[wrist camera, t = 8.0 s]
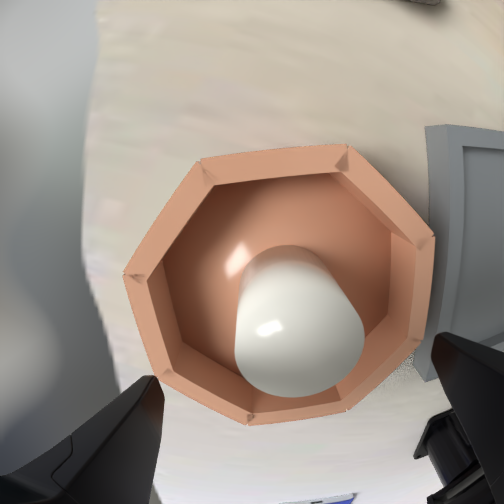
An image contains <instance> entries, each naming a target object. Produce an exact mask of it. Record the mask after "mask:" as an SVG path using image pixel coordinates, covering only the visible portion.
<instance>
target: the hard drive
mask: <svg viewBox="0 0 504 504" xmlns="http://www.w3.org/2000/svg"><path fill="white" fill-rule="evenodd" d="M353 499H354V497H353V493H352V494H347V495H341V496H335V497H329V498H323V499H315V500H307V501H298V502H286V503H278V504H351V502H352V501H353Z"/></svg>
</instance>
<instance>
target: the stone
mask: <svg viewBox="0 0 504 504" xmlns="http://www.w3.org/2000/svg"><path fill="white" fill-rule="evenodd" d="M410 1H413V2H422V3H425V4H429V5H436V4H438V3H439V2H440V0H410Z"/></svg>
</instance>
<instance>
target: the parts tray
mask: <svg viewBox="0 0 504 504" xmlns="http://www.w3.org/2000/svg"><path fill="white" fill-rule="evenodd" d="M425 133H426V143H427V156H428V173H429V228H430V229H431V230H432V231H433V233H434V234H433V236H435V250H434V263H433V275H432V284H431V293H430V301H429V308H428V314H427V321H426V327H425V332H424V338H423V340H420V341H421V342H422V343H421V344H420V345H419V346H418V347H417V348H416V350H415V355H414V360H413V366H414V367H415V369H416V370H417V372H418V373H419V374H420V376H421V377H422V379H423V380H424V382H427V381H430V380H433V379H436V378H439V377H438V375H437V372H436V370H435V368H434V366H433V363H432V361H431V350H432V346H433V341H434V337H435V335H436V334H438V333H441V332H445V331H446V332H449V333H452V334H455V335H458V336H460V337H463V338H466V339H469V340H471V341H474V342H477V343H480V344H482V345H485V346H488V347H491V348H493V349H496V350H499V351H504V132H502V131H496V130H489V129H482V128H475V127H466V126H457V125H447V124H445V125H435V126H425Z"/></svg>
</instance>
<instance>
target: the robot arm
mask: <svg viewBox="0 0 504 504" xmlns="http://www.w3.org/2000/svg"><path fill="white" fill-rule="evenodd" d="M431 361H432V363H433V366H434V368H435V370H436V372H437V375H438V377H439V380H440V382H441V384H442V387H443V389H444V391H445V394H446V396H447V398H448V400H449V402H450V404H451V405H452V407H453V410H451V411H448V412H446V413H444V414H441V415H438V416H436V417H433V418H432V419H430V420H429V421H428V423H427V426H426V428H425V430H424V433H423V435H422V437H421V440H420V442H419V444H418V446H417V449H416V451H415V453H414V455H413V457H414V459H419V458H422V457H424V456H427V455H428V456H429V458H430V460H431V462H432V464H433V466H434V468H435V470H436V472H437V474H438V476H439V478H440V480H441V482H442V484H443V487H444V488H442V489H441V490H439V491H438V492H436V493H435V494H432V495H430V496H428V497H427V504H504V352H502V351H499V350H496V349H493V348H491V347H488V346H485V345H482V344H480V343H477V342H474V341H471V340H469V339H466V338H463V337H460V336H458V335H455V334H452V333H449V332H446V331H445V332H441V333H438V334H436V335H435V337H434V341H433V346H432V350H431ZM164 402H165V398H164V393H163V391H162V388H161V386H160V383H159V381H158V379H157V377H156V376H154V375H145V376H142V377H141V378H140V379H138V380H137V381H136V382H135V383H134V384H132V385H131V386H130V387H129V388H127V389H126V390H125V391H124V392H123V393H121V394H120V395H119V396H118V397H116V398H115V399H114V400H113V401H111V402H110V403H109V404H108V405H107V406H105V407H104V408H103V409H102V410H100V411H99V412H98V413H97V414H95V415H94V416H93V417H92V418H90V419H89V420H88V421H87V422H85V423H84V424H83V425H81V426H80V427H79V428H78V429H76V430H75V431H74V432H73V433H72V434H71V435H69V436H67V437H66V438H65V439H64V440H62V441H61V442H60V443H58V444H57V445H56V446H54V447H53V448H52V449H50V450H49V451H47V452H45V453H44V454H42V455H41V456H39V457H38V458H36V459H34V460H33V461H31V462H29V463H28V464H26V465H24V466H23V467H21V468H19V469H18V470H16V471H14V472H12V473H10V474H7V475H3V476H0V504H149V499H150V494H151V488H152V483H153V478H154V473H155V468H156V463H157V458H158V453H159V448H160V443H161V435H162V424H163V413H164Z"/></svg>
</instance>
